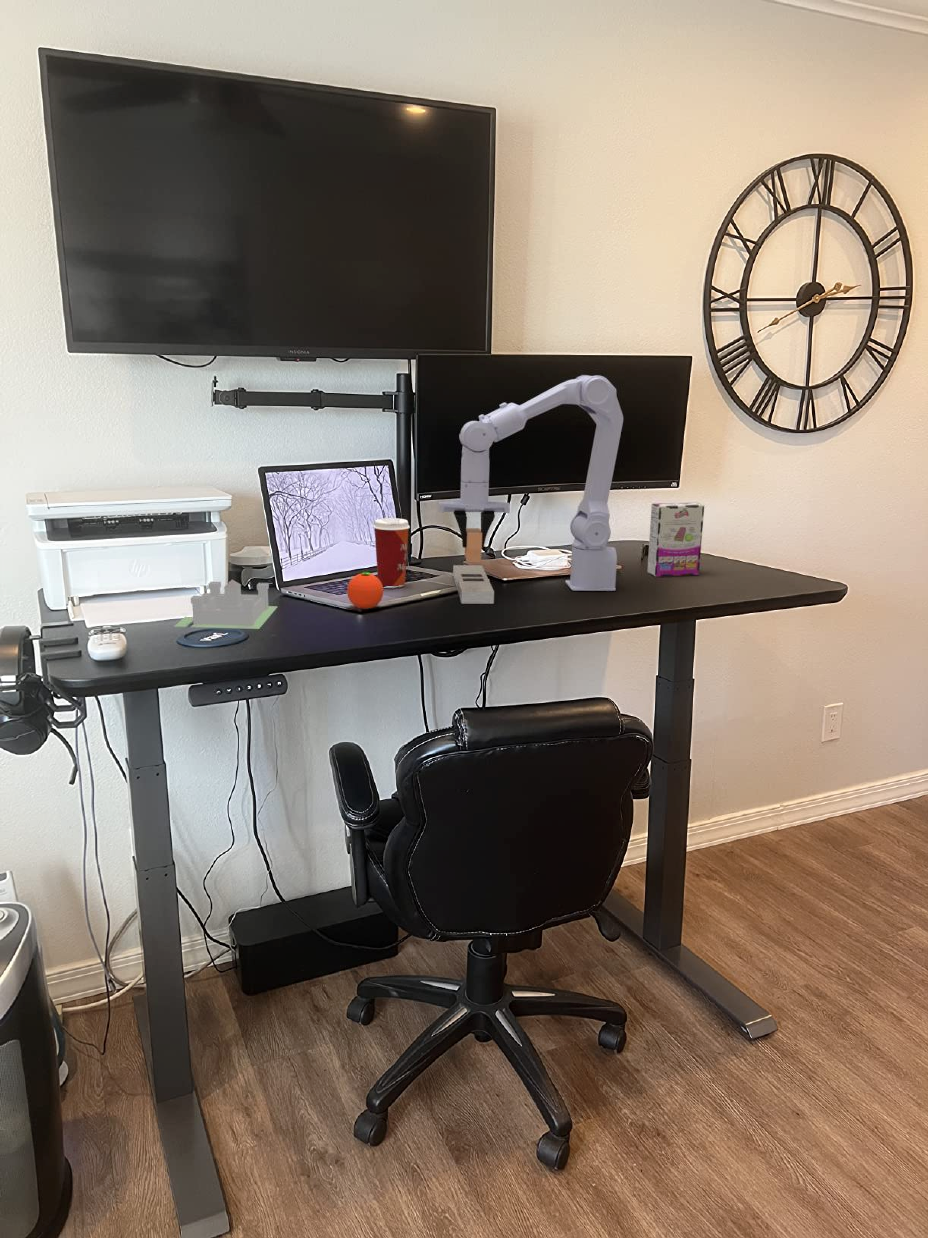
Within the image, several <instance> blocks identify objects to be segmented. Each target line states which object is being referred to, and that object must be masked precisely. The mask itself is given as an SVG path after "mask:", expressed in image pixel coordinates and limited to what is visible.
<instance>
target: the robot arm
mask: <svg viewBox="0 0 928 1238" xmlns="http://www.w3.org/2000/svg"><path fill="white" fill-rule="evenodd" d="M561 405H577V406H579V407H580V408H581V409H582V410H584V411H585V412H587V414H588V415H589V416H590V417H591V418H592V420H593V421H594V423H595V424H596V427H595V432H594V437H593V443H592V448H591V454H590V459H589V464H588V469H587V475H586V481H585V487H584V491H583V497H582V499H581V501H580V503H579V504H578V506H577V510H576V513H575V515H574V516H573V518H572V520H571V521H570V525H569V529H570V533H571V535H572V536H573V537H574V540H573V541H572V542H571V544H572V545H571V556H570V557H571V559H570V575H569V577H570V578H569V579H567V580H565V584H566V585H567V586H568V587H569V588H570V589H571V591H575V592H576V591H579V592H580V591H584V592H585V591H589V592H591V591H592V592H595V591H597V592H598V591H601V592H603V591H606V592H612V591H613V592H614V591H616V582H617V581H616V580H617V578H616V577H617V565H618V556H617V550H616V548H615V546H614V547H613V546H607V544H608V542H609V540H610V538H611V533H612V532H611V528H610V517H611V516H610V511H609V507H608V501H609V497H610V491H611V487H612V481H613V476H614V471H615V465H616V460H617V455H618V451H619V444H620V441H621V440H620V439H621V432H622V431H623V430H622V429H623V423H624V415H623V411H622V409H621V406H620V402H619V400H618V397H617V388H616V387H615V386H614V385H613V384H612V383H611V382H610V380H608V379H607V377H605V376H602V375H587V374H581V375H580V376H577V377H576V378H575V379H574V378H573V379H568V380H565V381H564V382H561V383H559V384H557V385H555V386H554V387H552V388H549V389H548V390H546V391H544V392H542V393H540V394H539V395H537V396H535V397H533V398H530V400H527V401H526V402H524V403H522V404H520V405H519V404H516V403H514V402H510V403H507V402H502V403H501V404H499V408H497V409H495V410H494V411H491V412H490V413H488V414H485V415H484V414H480V415H478V419H479V421H477V420H471V421H468V422H466V423H465V424H464V425H463V426H462V428H461V430H460V433H459V435H458V436H459V437H458V438H459V441H460V444H461V445H462V450H461V465H460V468H461V469H460V500H457V501H456V500H455V501H454V500H452V501H438V512H439V513H453V515H454V518H455V521H456V523H457V526H458V529H459V532H460V535H461V543H462V544H461V545H462V548H464V549H465V548H466V545H467V538H466V528H467V522H468V516H467V513H480V531H481V532H482V549H483V548H485V544H486V543H485V542H486V539H487V535H488V533H489V531H490V527H491V525H492V524H493V522H494V521H495V517H496V516H495V515H496V514H495V513H504V514H510V511H511V510H510V509H511V508H510V507H511V503H509V502H508V501H507V502H505V501H504V502H500V501H489V490H490V489H489V487H490V482H489V481H490V447H492V445H493V443H497V442H499V441H502V440H503V439H505V438H508V437H509V436H511V435H513V434H515V433H517V432H519V431H521V430H523V429H524V428H525V426H526V423H527V421H528V420H529V419H532V418H533V417H536V416H539V415H540V414H543V413H545V412H548V411H549V410H551V409H554V408H556V407H558V406H561Z"/></svg>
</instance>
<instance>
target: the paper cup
mask: <svg viewBox="0 0 928 1238" xmlns="http://www.w3.org/2000/svg"><path fill="white" fill-rule="evenodd" d="M372 527H373V529H374V539H375V556H376V573H377V578H378V579H379V580H380V581H381V583H382V586H399V585H404V584H405V583H406V573H407V572H406V570H407V557H408V555H407V554H408V540H409V529H410V528H411V527H410V525H409V521H408V520H407V519H404V518H397V517H389V518H388V517H385V518H378V519H375V521H374V524H373V525H372ZM405 585H406V584H405ZM405 585H404V586H405Z"/></svg>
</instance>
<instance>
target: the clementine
mask: <svg viewBox="0 0 928 1238" xmlns="http://www.w3.org/2000/svg"><path fill="white" fill-rule="evenodd" d="M346 588H347V590H346V593H347V598H348V600H349V602H351V604H352V605H353V606H354V607H356V608H358V607H359V608H358V609H361V608H364V609H363V610H368V609H367V608H370V609H372V608H371V607H373V608H375V607H376V606H377V605H378V604H379V603H380V602H381V601H382V599H383V597H384V588H383V586H382V583H381V581H380V580H379V579H378V576H376V575H374V574H372V573H371V572H365V571H363V572H362V573H358V574H357V575H355V576H353V577H352V578H351V579H350V580H349V582H348V584H347V587H346Z"/></svg>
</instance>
